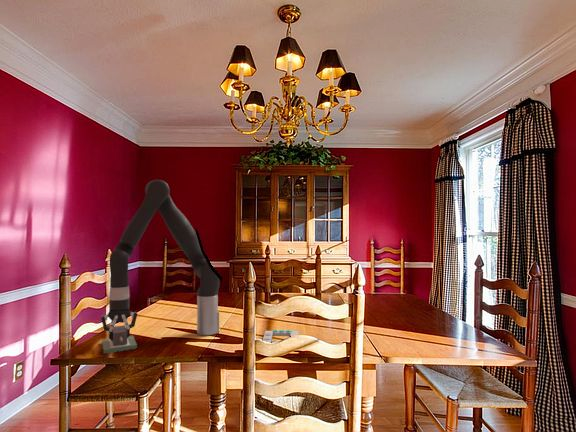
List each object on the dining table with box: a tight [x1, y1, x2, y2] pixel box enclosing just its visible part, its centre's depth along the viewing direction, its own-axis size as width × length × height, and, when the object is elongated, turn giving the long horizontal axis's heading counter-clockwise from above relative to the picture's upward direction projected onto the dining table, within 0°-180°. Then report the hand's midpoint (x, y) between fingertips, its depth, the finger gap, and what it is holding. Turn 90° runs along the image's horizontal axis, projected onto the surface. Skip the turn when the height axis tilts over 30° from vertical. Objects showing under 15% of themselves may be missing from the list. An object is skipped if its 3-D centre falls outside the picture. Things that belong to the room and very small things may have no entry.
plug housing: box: [112, 324, 127, 346], centre depth 151 cm, size 5×14×5 cm, turn 29°
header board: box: [101, 335, 138, 355], centre depth 153 cm, size 12×14×2 cm
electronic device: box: [262, 329, 299, 342], centre depth 162 cm, size 18×2×15 cm
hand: (119, 339), depth 153 cm, fingers closed on plug housing, 5 cm apart
